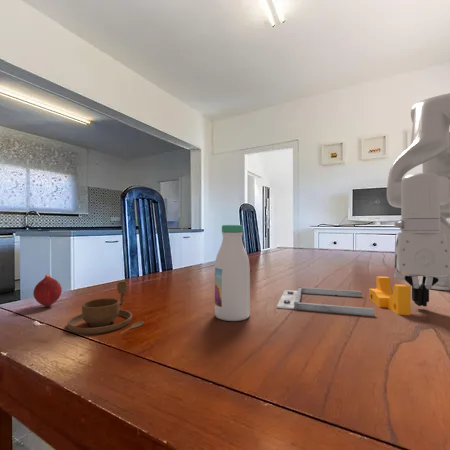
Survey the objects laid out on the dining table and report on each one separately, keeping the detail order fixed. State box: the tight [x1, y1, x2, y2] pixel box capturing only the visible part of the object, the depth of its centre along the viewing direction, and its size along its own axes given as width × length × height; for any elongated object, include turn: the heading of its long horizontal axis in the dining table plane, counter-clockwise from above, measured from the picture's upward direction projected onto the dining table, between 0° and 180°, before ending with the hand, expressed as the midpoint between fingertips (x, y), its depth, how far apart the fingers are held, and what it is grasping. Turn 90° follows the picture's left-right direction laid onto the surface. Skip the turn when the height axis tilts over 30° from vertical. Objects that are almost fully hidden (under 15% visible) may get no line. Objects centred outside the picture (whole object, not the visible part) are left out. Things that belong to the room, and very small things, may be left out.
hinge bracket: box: [276, 286, 375, 317], centre depth 73 cm, size 18×21×2 cm
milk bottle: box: [214, 224, 251, 322], centre depth 61 cm, size 8×8×20 cm
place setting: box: [67, 281, 145, 335], centre depth 61 cm, size 18×20×6 cm
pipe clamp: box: [368, 275, 412, 316], centre depth 68 cm, size 12×4×6 cm, turn 172°
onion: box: [32, 273, 63, 308], centre depth 69 cm, size 6×6×8 cm
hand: (420, 304), depth 66 cm, fingers closed
